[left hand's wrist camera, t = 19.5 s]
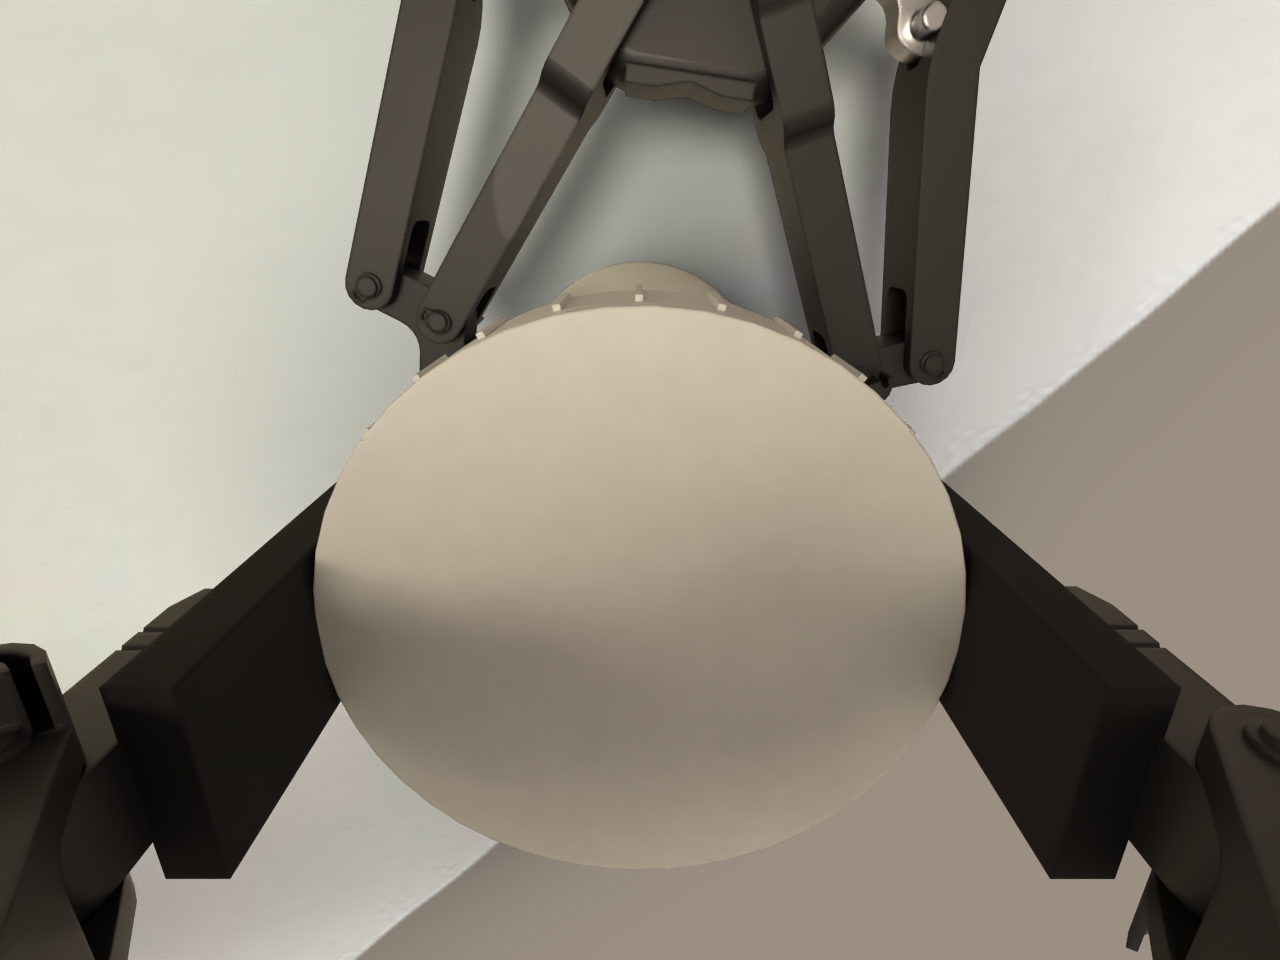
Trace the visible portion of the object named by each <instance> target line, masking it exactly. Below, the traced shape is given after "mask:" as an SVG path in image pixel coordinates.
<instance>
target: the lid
mask: <svg viewBox="0 0 1280 960" xmlns="http://www.w3.org/2000/svg"><path fill="white" fill-rule="evenodd" d="M476 336H477V338H476V339H475V340H473V341H472V342H470V343H469V344H467V345H466V346H464V347H463V348H461V349H460V350H458V351H457V352H455V353H454V354H453V355H451V356H450V357H447V355H446V354H445V355H443V356H442V357H440V358H439V359H437V360H436V361H435V362H433V363H432V364H430V365H429V366H427V367H426V368H424V369H423V370H421V371H420V372H419V373H417V374H416V375H415V376H413V377H412V380H413V381H414V382H415V383H414V384H413V385H412V386H411V387H410V388H409V389H408V390H406V391H405V392H404V393H403V394H402V395H401V396H400V397H399V398H397V399H396V400H395V401H394V402H393V403H392V404H391V405H390V406H389V407H388V408H387V409H386V410H385V411H384V413H383V414H382V415H381V416H380V417H379V419H378V420H377V421H376V422H375V423H374V424H372V425H371V426H370V427H368V428H367V429H366V431H365V432H364V437H363V438H362V439H361V441H360V442H359V444H358V446H357V447H356V449H355V451H354V452H353V454H352V456H351V457H350V459H349V461H348V462H347V464H346V466H345V467H344V469H343V471H342V472H341V474H340V476H339V478H338V481H337V483H336V486H335V488H334V491H333V493H332V496H331V498H330V500H329V503H328V505H327V508H326V510H325V513H324V517H323V522H322V526H321V530H320V535H319V539H318V543H317V548H316V555H315V569H314V583H313V594H314V607H315V614H316V620H317V626H318V631H319V635H320V640H321V645H322V650H323V655H324V659H325V664H326V667H327V669H328V672H329V674H330V677H331V679H332V682H333V684H334V687H335V690H336V692H337V695H338V697H339V698H340V700H341V702H342V704H343V705H344V707H345V709H346V711H347V713H348V714H349V716H350V718H351V720H352V721H353V723H354V725H355V727H356V728H357V729H358V731H359V732H360V733H361V735H362V736H363V737H364V739H365V740H366V741H367V743H368V744H369V745H370V747H371V748H372V749H373V751H374V752H375V753H376V755H377V756H378V757H379V758H380V759H381V760H382V761H383V762H384V763H385V764H386V765H387V766H388V767H389V768H390V769H391V770H392V771H393V772H394V773H395V774H396V775H397V776H398V778H399V779H400V780H401V781H403V782H404V783H405V784H406V785H408V786H409V787H410V788H411V789H412V790H414V791H415V792H416V793H417V794H418V795H420V796H421V797H422V798H423V799H425V800H426V801H427V802H428V803H430V804H431V805H433V806H434V807H436V808H437V809H439V810H440V811H442V812H443V813H445V814H447V815H448V816H450V817H451V818H453V819H454V820H456V821H457V822H459V823H461V824H463V825H465V826H467V827H469V828H471V829H473V830H475V831H477V832H479V833H481V834H483V835H485V836H487V837H489V838H491V839H493V840H496V841H498V842H501V843H504V844H506V845H509V846H511V847H514V848H517V849H519V850H522V851H525V852H528V853H532V854H536V855H539V856H543V857H547V858H550V859H554V860H557V861H563V862H568V863H574V864H580V865H586V866H592V867H602V868H616V869H629V870H632V869H668V868H677V867H685V866H694V865H702V864H707V863H711V862H716V861H721V860H725V859H730V858H735V857H738V856H742V855H745V854H748V853H751V852H754V851H757V850H760V849H763V848H767V847H770V846H772V845H775V844H777V843H779V842H781V841H784V840H786V839H788V838H791V837H793V836H795V835H797V834H800V833H802V832H804V831H806V830H808V829H809V828H811V827H813V826H815V825H816V824H818V823H820V822H822V821H824V820H825V819H827V818H829V817H831V816H832V815H834V814H836V813H837V812H838V811H840V810H841V809H843V808H844V807H845V806H847V805H848V804H849V803H851V802H852V801H854V800H855V799H856V798H858V797H859V796H861V795H862V794H863V793H864V792H865V791H867V790H868V789H869V788H870V787H871V786H872V785H873V784H874V783H875V782H877V781H878V780H879V779H880V778H881V777H882V776H883V775H884V774H885V773H886V772H888V771H889V770H890V769H891V767H892V766H893V765H894V764H895V763H896V762H897V760H898V759H899V758H900V757H901V756H902V755H903V754H904V752H905V751H906V750H907V749H908V748H909V747H910V745H911V744H912V743H913V742H914V740H915V739H916V737H917V736H918V734H919V733H920V731H921V730H922V728H923V727H924V725H925V724H926V722H927V721H928V719H929V718H930V716H931V715H932V713H933V711H934V709H935V707H936V705H937V703H938V701H939V699H940V697H941V695H942V693H943V691H944V689H945V687H946V685H947V682H948V680H949V677H950V674H951V671H952V668H953V665H954V662H955V659H956V656H957V652H958V648H959V643H960V638H961V633H962V627H963V622H964V616H965V610H966V568H965V561H964V554H963V547H962V540H961V533H960V530H959V527H958V524H957V520H956V517H955V514H954V511H953V507H952V504H951V501H950V498H949V495H948V493H947V491H946V489H945V487H944V485H943V483H942V481H941V479H940V477H939V474H938V472H937V470H936V468H935V466H934V464H933V462H932V460H931V458H930V457H929V456H928V454H927V453H926V451H925V450H924V448H923V447H922V446H921V444H920V443H919V441H918V440H917V438H916V437H915V436H914V434H916V433H915V431H914V430H913V428H911V427H910V426H909V425H908V424H906V423H905V422H904V421H903V420H902V419H901V418H900V417H899V416H898V415H897V414H896V413H895V412H894V410H893V409H892V408H891V407H890V406H889V405H888V404H887V403H886V402H885V401H884V400H883V399H882V398H881V397H880V396H879V395H878V394H877V393H876V392H875V391H874V390H873V389H871V388H870V387H869V386H867V385H866V384H865V383H864V382H865V380H866V379H867V377H866V376H865V375H864V374H862V373H861V372H860V371H858V370H857V369H855V368H854V367H852V366H851V365H849V364H848V363H847V362H845V361H844V360H842V359H841V358H839V357H838V356H836V355H835V354H833V355H832V356H831V357H830V356H828V355H827V354H825V353H824V352H823V351H821V350H820V349H818V348H817V347H816V346H814V345H813V344H812V343H810V342H809V341H807V340H806V339H805V338H803V337H802V336H803V333H801V332H800V331H798V330H797V329H796V328H794V327H793V326H791V325H790V324H789V323H787V322H786V321H784V320H783V319H781V318H779V317H777V316H776V317H775V319H774V321H773V320H771V319H769V318H767V317H764V316H762V315H759V314H757V313H754V312H752V311H749V310H747V309H744V308H742V307H739V306H736V305H734V304H731V303H727V302H723V301H722V300H721V299H720V298H719V297H718V296H717V295H716V294H714V293H710V292H709V293H708V296H707V298H706V297H702V296H698V295H694V294H687V293H677V292H668V291H658V290H643V285H636V288H635V290H627V291H607V292H601V293H595V294H589V295H583V296H577V297H571V293H570V292H569V293H565V294H563V295H562V296H561V297H560V298H559V299H558V300H557V301H556V302H554V303H551V304H548V305H544V306H541V307H538V308H535V309H532V310H529V311H527V312H525V313H522V314H520V315H518V316H516V317H514V318H512V319H510V320H508V321H506V322H505V319H504V317H500V318H498V319H497V320H495V321H494V322H492V323H491V324H489V325H488V326H487V327H485V328H484V329H482V330H481V331H479V332H478V333H476Z"/></svg>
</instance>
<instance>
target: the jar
mask: <svg viewBox="0 0 1280 960" xmlns="http://www.w3.org/2000/svg"><path fill="white" fill-rule="evenodd" d="M636 285H643V290H658V291H668V292H677V293H687V294H694V295H698V296H702V297H706V298H707V296H708V293H709V292H710V293H714V294H716V295H717V296H718V297H719V298H720V299H721V300H722V301H723V302H727V303H729V302H728V301H727V300H726V299H725V298H724V297H723V296H722V295H721V294H720V293H719V292H717V291H716V290H715V289H714V288H713V287H711V286H710V285H708V284H707V283H706V282H704V281H703V280H701V279H699V278H698V277H696V276H694V275H692V274H690V273H688V272H686V271H683V270H680V269H678V268H675V267H672V266H667V265H663V264H658V263H647V262H634V263H623V264H618V265H612V266H608V267H606V268H603V269H600V270H597V271H594V272H592V273H590V274H588V275H586V276H584V277H582V278H580V279H579V280H577V281H576V282H574V283H573V284H572V285H570V286H569V287H567V288H566V289H565V290H564V291H563V292H562V293H561V294H560V295H559V296H557V297H556V298H555V299H554V300H553V301H552V302H551V303H554V302H556V301H557V300H558V299H559V298H560V297H561V296H562V295H563V294H565V293H569V292H570V293H571V297H577V296H583V295H589V294H595V293H601V292H607V291H627V290H635V288H636ZM551 303H550V304H551Z"/></svg>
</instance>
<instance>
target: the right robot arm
mask: <svg viewBox="0 0 1280 960" xmlns="http://www.w3.org/2000/svg"><path fill="white" fill-rule="evenodd" d="M564 1H565V3H566V5H567V7H568V9H569V11H570V13H571V14H570V16H569V18H568V20H567V22H566V24H565V26H564V27H563V29H562V31H561V33H560V35H559V37H558V39H557V40H556V42H555V44H554V46H553V48H552V50H551V52H550V54H549V56H548V58H547V60H546V62H545V64H544V67H543V69H542V72H541V76H540V80H539V83H538V85H537V88H536V90H535V91H534V93H533V95H532V97H531V99H530V101H529V103H528V105H527V106H526V108H525V110H524V112H523V114H522V116H521V118H520V119H519V121H518V123H517V125H516V127H515V129H514V131H513V132H512V134H511V136H510V138H509V140H508V142H507V144H506V145H505V147H504V149H503V151H502V153H501V155H500V157H499V158H498V160H497V162H496V164H495V166H494V168H493V170H492V171H491V173H490V175H489V177H488V179H487V181H486V183H485V184H484V186H483V188H482V190H481V192H480V194H479V196H478V197H477V199H476V201H475V203H474V205H473V207H472V209H471V210H470V212H469V214H468V216H467V218H466V220H465V222H464V223H463V225H462V227H461V229H460V231H459V233H458V235H457V236H456V238H455V240H454V242H453V244H452V246H451V248H450V249H449V251H448V253H447V255H446V257H445V259H444V261H443V262H442V264H441V266H440V268H439V270H438V272H437V274H436V275H435V277H432V276H430V275H428V274H427V273H425V272H423V271H424V267H425V263H426V259H427V255H428V251H429V246H430V242H431V238H432V234H433V230H434V226H435V221H436V217H437V213H438V209H439V205H440V201H441V196H442V192H443V188H444V184H445V180H446V176H447V171H448V167H449V163H450V159H451V155H452V150H453V146H454V142H455V138H456V134H457V130H458V125H459V121H460V117H461V113H462V109H463V105H464V100H465V96H466V92H467V88H468V84H469V80H470V75H471V71H472V67H473V63H474V59H475V55H476V50H477V46H478V40H479V35H480V30H481V20H482V7H483V1H482V0H401V4H400V9H399V14H398V19H397V24H396V29H395V34H394V39H393V44H392V49H391V54H390V59H389V64H388V69H387V74H386V79H385V83H384V88H383V93H382V98H381V103H380V108H379V113H378V118H377V123H376V128H375V133H374V138H373V143H372V148H371V153H370V158H369V163H368V168H367V173H366V178H365V183H364V188H363V193H362V198H361V203H360V208H359V213H358V218H357V223H356V228H355V233H354V238H353V243H352V248H351V253H350V258H349V263H348V268H347V273H346V278H345V286H346V290H347V293H348V295H349V297H350V298H351V299H352V301H353V302H354V303H355V304H356V305H358V306H360V307H362V308H363V309H368V310H376V309H377V310H379V311H381V312H383V313H385V314H387V315H389V316H391V317H393V318H395V319H397V320H399V321H401V322H402V323H404V324H405V325H407V326H408V327H409V328H410V329H411V330H412V331H413V332H414V334H415V336H416V337H417V340H418V343H419V347H420V371H421V370H423V369H424V368H426V367H427V366H429V365H430V364H432V363H433V362H435V361H436V360H437V359H439V358H440V357H442V356H443V355H445V354H446V355H447V357H450V356H451V355H453V354H454V353H455V352H457V351H458V350H460V349H461V348H463V347H464V346H466V345H467V344H469V343H470V342H472V341H473V340H475V339H476V338H477V337H476V333H477V325H478V324H479V323H480V322H481V321H482V320H483V319H484V317H482V315H483V314H484V312H485V310H486V308H487V307H488V305H489V303H490V301H491V300H492V298H493V296H494V294H495V293H496V291H497V289H498V287H499V286H500V284H501V282H502V280H503V279H504V277H505V275H506V273H507V272H508V270H509V268H510V266H511V265H512V263H513V261H514V260H515V258H516V256H517V254H518V253H519V251H520V249H521V247H522V246H523V244H524V242H525V240H526V239H527V237H528V235H529V233H530V232H531V230H532V228H533V226H534V225H535V223H536V221H537V219H538V218H539V216H540V214H541V212H542V211H543V209H544V207H545V205H546V204H547V202H548V200H549V199H550V197H551V195H552V193H553V192H554V190H555V188H556V186H557V185H558V183H559V181H560V179H561V178H562V176H563V174H564V172H565V171H566V169H567V167H568V165H569V164H570V162H571V160H572V158H573V157H574V155H575V153H576V151H577V150H578V148H579V146H580V144H581V143H582V141H583V139H584V138H585V136H586V134H587V132H588V131H589V129H590V128H591V127H592V125H593V124H594V123H595V122H596V120H597V119H598V117H599V116H600V114H601V112H602V111H603V109H604V107H605V105H606V104H607V102H608V100H609V99H610V97H611V95H612V93H613V92H614V90H615V88H616V87H618V88H619V89H621V90H623V91H625V92H626V96H627V97H634V98H640V99H647V100H653V101H656V100H663V99H669V98H676V97H688V98H690V99H692V100H694V101H696V102H698V103H701V104H703V105H705V106H707V107H709V108H711V109H713V110H719V111H725V112H732V113H738V114H742V113H743V112H744V111H745V110H746V109H752V112H753V116H754V121H755V125H756V129H757V133H758V137H759V140H760V143H761V146H762V148H763V150H764V152H765V154H766V157H767V160H768V164H769V168H770V172H771V176H772V180H773V185H774V189H775V193H776V197H777V201H778V205H779V209H780V214H781V218H782V222H783V226H784V230H785V234H786V239H787V243H788V247H789V251H790V255H791V259H792V263H793V268H794V272H795V276H796V280H797V284H798V288H799V292H800V297H801V301H802V305H803V309H804V313H805V317H806V321H807V326H808V330H809V334H810V338H811V342H812V344H813V345H814V346H816V347H817V348H818V349H820V350H821V351H823V352H824V353H825V354H827V355H828V356H830V357H831V356H832V355H833V354H835V355H836V356H838V357H839V358H841V359H842V360H844V361H845V362H847V363H848V364H849V365H851V366H852V367H854V368H855V369H857V370H858V371H860V372H861V373H862V374H864V375H865V376H866V377H867V379H866V380H865V382H864V383H865V384H866V385H867V386H869V387H870V388H871V389H873V390H874V391H875V392H876V393H877V394H878V395H879V396H880V397H881V398H882V399H883V400H885V399H886V398H887V397H888V396H889V394H890V392H891V389H892V388H894V387H899V386H903V385H908V384H913V383H918V382H919V383H921V384H924V385H933V384H937V383H940V382H941V381H943V380H944V379H946V378H947V377H948V375H949V374H950V373H951V371H952V369H953V366H954V362H955V353H956V341H957V329H958V318H959V306H960V294H961V283H962V271H963V259H964V247H965V236H966V224H967V212H968V201H969V189H970V177H971V165H972V154H973V142H974V130H975V119H976V107H977V95H978V83H979V72H980V66H981V63H982V61H983V58H984V56H985V53H986V51H987V48H988V46H989V43H990V40H991V38H992V35H993V33H994V30H995V28H996V25H997V23H998V20H999V18H1000V15H1001V13H1002V10H1003V7H1004V5H1005V2H1006V0H877V1H878V3H879V4H880V5H881V6H882V8H883V10H884V12H885V16H886V30H885V45H886V48H887V50H888V52H889V54H890V55H891V56H892V57H893V58H894V59H896V60H898V61H900V62H899V65H898V69H897V72H896V77H895V82H894V87H893V92H892V103H891V114H890V137H889V159H888V181H887V203H886V225H885V248H884V270H883V292H882V314H881V336H876V335H875V330H874V325H873V320H872V315H871V311H870V306H869V301H868V296H867V291H866V286H865V281H864V277H863V272H862V267H861V262H860V257H859V252H858V248H857V243H856V238H855V233H854V228H853V223H852V219H851V214H850V209H849V204H848V199H847V194H846V189H845V185H844V180H843V175H842V170H841V165H840V160H839V156H838V151H837V146H836V141H835V136H834V127H833V125H834V118H835V108H834V101H833V95H832V91H831V86H830V81H829V76H828V71H827V66H826V61H825V56H824V51H823V47H824V46H825V45H826V43H827V42H828V41H829V40H830V39H831V38H832V37H833V36H834V35H835V33H836V32H837V31H838V30H839V29H840V28H841V27H842V26H843V25H844V23H845V22H846V21H847V20H848V19H849V18H850V17H851V16H852V15H853V13H854V12H855V11H856V10H857V9H858V8H859V7H860V6H861V5H862V3H863V2H864V1H865V0H564Z"/></svg>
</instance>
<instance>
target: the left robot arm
mask: <svg viewBox="0 0 1280 960" xmlns="http://www.w3.org/2000/svg"><path fill="white" fill-rule="evenodd" d="M941 481H942V480H941ZM336 483H337V482H336ZM336 483H335V484H334V485H333V486H331V487H330V488H329V489H328V490H327V491H326V492H325V493H323V494H322V495H321V496H320V497H319V498H318V499H316V500H315V501H314V502H313V503H312V504H311V505H310V506H308V507H307V508H306V509H305V510H304V511H303V512H301V513H300V514H299V515H298V516H297V517H296V518H294V519H293V520H292V521H291V522H290V523H289V524H288V525H286V526H285V527H284V528H283V529H282V530H281V531H279V532H278V533H277V534H276V535H275V536H274V537H273V538H271V539H270V540H269V541H268V542H267V543H266V544H264V545H263V546H262V547H261V548H260V549H259V550H258V551H256V552H255V553H254V554H253V555H252V556H251V557H249V558H248V559H247V560H246V561H245V562H244V563H242V564H241V565H240V566H239V567H238V568H237V569H236V570H234V571H233V572H232V573H231V574H230V575H229V576H227V577H226V578H225V579H224V580H223V581H222V582H221V583H219V584H218V585H217V586H216V587H215V588H214V589H203V590H201V591H199V592H197V593H195V594H194V595H192V596H190V597H188V598H186V599H184V600H182V601H180V602H178V603H176V604H174V605H172V606H170V607H169V608H167V609H166V610H165V611H164V612H162V613H161V614H160V615H159V616H158V617H156V618H155V619H154V620H153V621H152V622H150V623H149V624H148V625H147V626H145V627H144V631H143V632H138V633H137V634H136V635H135V636H133V637H132V638H131V639H130V640H128V641H127V642H126V643H125V644H124V645H122V650H116V651H115V652H114V653H113V654H111V655H110V656H109V657H108V658H107V659H105V660H104V661H103V662H102V663H100V664H99V665H98V666H97V667H96V668H94V669H93V670H92V671H91V672H90V673H88V674H87V675H86V676H85V677H83V678H82V679H81V680H80V681H79V682H77V683H76V684H75V685H74V686H73V687H71V688H70V689H69V690H68V691H66V692H65V693H64V694H63V695H62V693H61V690H60V687H59V685H58V682H57V679H56V677H55V674H54V671H53V669H52V666H51V663H50V661H49V658H48V655H47V653H46V651H45V650H43V649H41V648H40V647H38V646H36V645H34V644H21V643H8V644H1V645H0V960H128V953H129V947H130V941H131V934H132V928H133V922H134V915H135V909H136V903H137V900H136V893H135V887H134V884H133V881H132V878H131V876H130V873H129V872H130V871H131V869H132V868H133V867H134V865H135V864H136V863H137V862H138V860H139V859H140V858H141V856H142V855H143V854H144V853H145V851H146V850H147V849H148V848H149V846H150V845H151V844H152V842H153V844H154V847H155V850H156V852H157V855H158V858H159V861H160V864H161V867H162V869H163V872H164V875H165V878H166V879H230V878H231V877H232V875H233V874H234V872H235V870H236V869H237V867H238V866H239V864H240V862H241V861H242V859H243V858H244V856H245V854H246V853H247V851H248V849H249V848H250V846H251V845H252V843H253V841H254V840H255V838H256V837H257V835H258V833H259V832H260V830H261V829H262V827H263V825H264V824H265V822H266V821H267V819H268V817H269V816H270V814H271V812H272V811H273V809H274V808H275V806H276V804H277V803H278V801H279V800H280V798H281V796H282V795H283V793H284V792H285V790H286V788H287V787H288V785H289V784H290V782H291V780H292V779H293V777H294V775H295V774H296V772H297V771H298V769H299V767H300V766H301V764H302V763H303V761H304V759H305V758H306V756H307V755H308V753H309V751H310V750H311V748H312V746H313V745H314V743H315V742H316V740H317V738H318V737H319V735H320V734H321V732H322V730H323V729H324V727H325V726H326V724H327V722H328V721H329V719H330V718H331V716H332V714H333V713H334V711H335V709H336V708H337V706H338V705H339V703H340V701H341V700H340V698H339V697H338V695H337V692H336V690H335V687H334V684H333V682H332V679H331V677H330V674H329V672H328V669H327V667H326V664H325V659H324V655H323V650H322V645H321V640H320V635H319V631H318V626H317V620H316V614H315V607H314V594H313V583H314V569H315V555H316V548H317V543H318V539H319V535H320V530H321V526H322V522H323V517H324V513H325V510H326V508H327V505H328V503H329V500H330V498H331V496H332V493H333V491H334V488H335V486H336ZM942 483H943V485H944V487H945V489H946V491H947V493H948V495H949V498H950V501H951V504H952V507H953V511H954V514H955V517H956V520H957V524H958V527H959V530H960V533H961V540H962V547H963V554H964V561H965V568H966V610H965V616H964V622H963V627H962V633H961V638H960V643H959V648H958V652H957V656H956V659H955V662H954V665H953V668H952V671H951V674H950V677H949V680H948V682H947V685H946V687H945V689H944V691H943V693H942V695H941V697H940V699H939V701H940V702H941V704H942V705H943V707H944V709H945V710H946V712H947V714H948V715H949V717H950V718H951V720H952V721H953V723H954V725H955V726H956V728H957V730H958V731H959V733H960V734H961V736H962V738H963V739H964V741H965V743H966V744H967V746H968V747H969V749H970V750H971V752H972V754H973V755H974V757H975V759H976V760H977V762H978V763H979V765H980V767H981V768H982V770H983V772H984V773H985V775H986V776H987V778H988V780H989V781H990V783H991V784H992V786H993V788H994V789H995V791H996V792H997V794H998V796H999V797H1000V799H1001V800H1002V802H1003V804H1004V805H1005V807H1006V809H1007V810H1008V812H1009V813H1010V815H1011V817H1012V818H1013V820H1014V821H1015V823H1016V825H1017V826H1018V828H1019V829H1020V831H1021V833H1022V834H1023V836H1024V837H1025V839H1026V841H1027V842H1028V844H1029V846H1030V847H1031V849H1032V850H1033V852H1034V853H1035V855H1036V857H1037V858H1038V860H1039V862H1040V863H1041V865H1042V866H1043V868H1044V870H1045V871H1046V873H1047V874H1048V876H1049V878H1050V879H1115V877H1116V874H1117V871H1118V868H1119V865H1120V862H1121V860H1122V857H1123V854H1124V851H1125V848H1126V845H1127V842H1128V840H1129V841H1130V842H1131V843H1132V844H1133V846H1134V847H1135V848H1136V849H1137V851H1138V852H1139V853H1140V854H1141V856H1142V857H1143V858H1144V860H1145V861H1146V862H1147V863H1148V865H1149V866H1150V867H1151V868H1152V870H1151V873H1150V876H1149V879H1148V881H1147V884H1146V886H1145V889H1144V892H1143V894H1142V897H1141V900H1140V902H1139V905H1138V908H1137V910H1136V913H1135V916H1134V918H1133V921H1132V924H1131V926H1130V929H1129V932H1128V937H1127V943H1126V947H1127V948H1129V949H1132V950H1134V951H1137V952H1138V949H1139V947H1140V944H1141V942H1142V939H1143V937H1144V935H1146V934H1148V933H1149V938H1150V945H1151V951H1152V957H1153V960H1280V712H1279V711H1276V710H1273V709H1267V708H1261V707H1255V706H1249V705H1234V704H1233V703H1232V702H1231V701H1230V700H1228V699H1227V698H1226V697H1225V696H1223V695H1222V694H1221V693H1220V692H1219V691H1217V690H1216V689H1215V688H1214V687H1212V686H1211V685H1210V684H1209V683H1208V682H1206V681H1205V680H1204V679H1203V678H1201V677H1200V676H1199V675H1198V674H1196V673H1195V672H1194V671H1193V670H1192V669H1190V668H1189V667H1188V666H1187V665H1185V664H1184V663H1183V662H1182V661H1181V660H1179V659H1178V658H1177V657H1176V656H1174V655H1173V654H1172V653H1171V652H1170V651H1168V650H1167V649H1166V648H1160V646H1159V642H1157V641H1156V640H1155V639H1154V638H1152V637H1151V636H1150V635H1149V634H1148V633H1146V632H1145V631H1144V630H1138V625H1136V624H1135V623H1134V622H1133V621H1132V620H1130V619H1129V618H1128V617H1127V616H1125V615H1124V614H1123V613H1122V612H1121V611H1119V610H1118V609H1117V608H1116V607H1114V606H1113V605H1112V604H1110V603H1108V602H1106V601H1104V600H1102V599H1100V598H1098V597H1096V596H1094V595H1092V594H1090V593H1088V592H1086V591H1084V590H1082V589H1080V588H1078V587H1065V586H1063V585H1062V584H1061V583H1060V582H1059V581H1058V580H1057V579H1055V578H1054V577H1053V576H1052V575H1051V574H1050V573H1048V572H1047V571H1046V570H1045V569H1044V568H1043V567H1041V566H1040V565H1039V564H1038V563H1037V562H1036V561H1035V560H1033V559H1032V558H1031V557H1030V556H1029V555H1028V554H1026V553H1025V552H1024V551H1023V550H1022V549H1021V548H1020V547H1018V546H1017V545H1016V544H1015V543H1014V542H1013V541H1011V540H1010V539H1009V538H1008V537H1007V536H1006V535H1004V534H1003V533H1002V532H1001V531H1000V530H999V529H998V528H996V527H995V526H994V525H993V524H992V523H991V522H989V521H988V520H987V519H986V518H985V517H984V516H982V515H981V514H980V513H979V512H978V511H977V510H976V509H974V508H973V507H972V506H971V505H970V504H969V503H968V502H966V501H965V500H964V499H963V498H962V497H960V496H959V495H958V494H957V493H956V492H955V491H954V490H952V489H951V488H950V487H949V486H948V485H947V484H946V483H944V482H943V481H942Z"/></svg>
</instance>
